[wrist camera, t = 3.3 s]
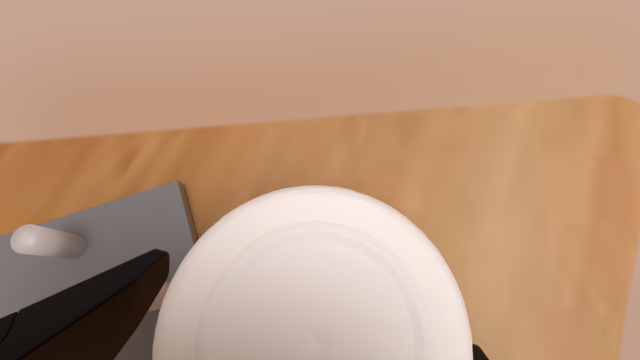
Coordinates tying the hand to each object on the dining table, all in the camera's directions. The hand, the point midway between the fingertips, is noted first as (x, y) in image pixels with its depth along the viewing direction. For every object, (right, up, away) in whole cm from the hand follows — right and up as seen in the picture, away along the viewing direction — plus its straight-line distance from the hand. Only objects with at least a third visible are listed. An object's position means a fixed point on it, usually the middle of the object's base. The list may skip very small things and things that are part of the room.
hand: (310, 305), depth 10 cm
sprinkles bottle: (0, -2, +8) cm, 8 cm away
